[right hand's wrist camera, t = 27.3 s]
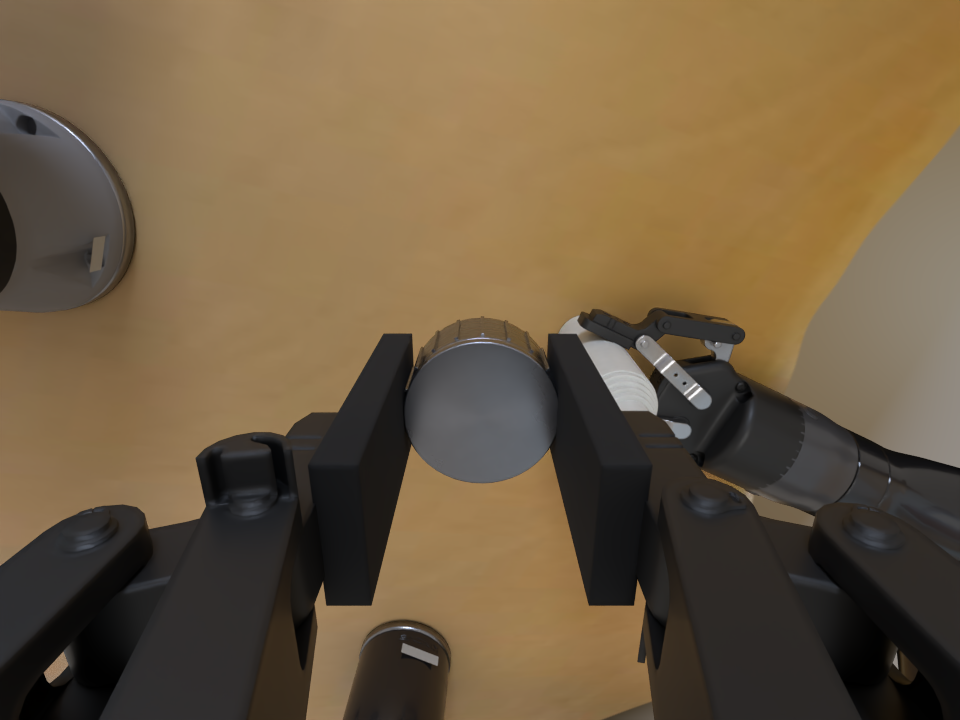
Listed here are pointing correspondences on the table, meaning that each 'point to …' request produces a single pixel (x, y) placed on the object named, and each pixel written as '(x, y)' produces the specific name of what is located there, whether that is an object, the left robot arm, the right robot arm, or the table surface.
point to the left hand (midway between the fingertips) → (564, 350)
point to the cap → (481, 401)
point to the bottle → (616, 370)
